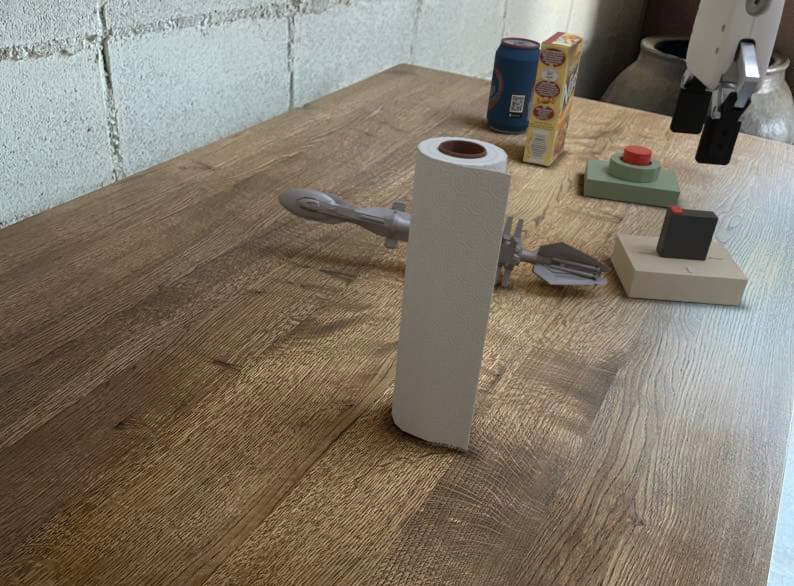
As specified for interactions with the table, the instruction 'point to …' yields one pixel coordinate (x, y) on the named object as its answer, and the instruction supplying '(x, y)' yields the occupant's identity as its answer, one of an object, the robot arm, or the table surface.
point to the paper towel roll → (448, 285)
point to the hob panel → (677, 273)
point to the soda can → (513, 85)
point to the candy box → (552, 97)
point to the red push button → (637, 155)
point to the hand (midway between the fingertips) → (697, 147)
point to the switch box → (631, 182)
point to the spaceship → (548, 263)
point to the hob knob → (686, 233)
